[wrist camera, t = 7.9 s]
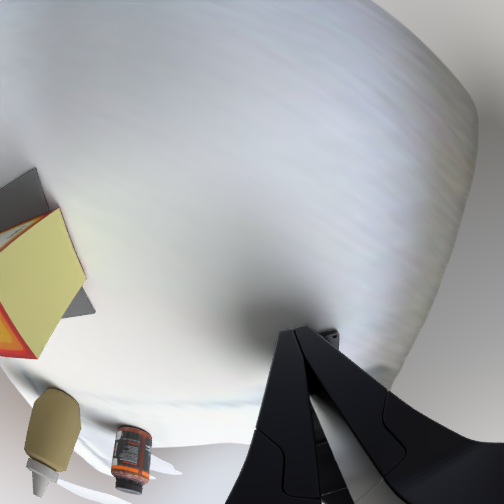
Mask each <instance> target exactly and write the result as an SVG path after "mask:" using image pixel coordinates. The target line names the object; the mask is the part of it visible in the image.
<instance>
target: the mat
mask: <svg viewBox="0 0 504 504" xmlns="http://www.w3.org/2000/svg"><path fill="white" fill-rule="evenodd" d="M46 212H49V209H48V206H47V203H46V200H45V197H44V194H43V191H42V188H41V184H40V181H39V177H38V174H37V170H36V168H34V169H32V170H31V171H29V172H27V173H26V174H24V175H22V176H21V177H19V178H17V179H16V180H14V181H13V182H11V183H10V184H8V185H6V186H5V187H3V188H2V189H0V231H3V230H5V229H7V228H9V227H12V226H14V225H16V224H19V223H21V222H24V221H26V220H28V219H31V218H33V217H36V216H39V215H41V214H44V213H46ZM94 313H95V310H94V308H93V306H92V304H91V303H90V301H89V299H88V297H87V295H86V293H85V292H84V290H83V288H82V286H81V288H80V289H79V291H78V292H77V294H76V295H75V297H74V298H73V300H72V302H71V303H70V305H69V306H68V308H67V309H66V311H65V313H64V314H63V316H62V317H61V318H68V317H75V316H81V315H88V314H94Z"/></svg>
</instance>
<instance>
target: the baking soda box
mask: <svg viewBox="0 0 504 504" xmlns="http://www.w3.org/2000/svg"><path fill="white" fill-rule="evenodd" d="M85 281H86V276H85V274H84V272H83V270H82V267H81V265H80V263H79V260H78V258H77V255H76V253H75V250H74V248H73V245H72V243H71V240H70V237H69V235H68V232H67V229H66V226H65V223H64V221H63V218H62V215H61V211H60V208H57V209H54V210H52V211H49V212H46V213H44V214H41V215H39V216H36V217H33V218H31V219H28V220H26V221H24V222H21V223H19V224H16V225H14V226H12V227H9V228H7V229H5V230H3V231H0V356H3V357H13V358H25V359H38V358H39V356H40V354H41V353H42V351H43V349H44V347H45V345H46V343H47V342H48V340H49V338H50V336H51V334H52V333H53V331H54V329H55V328H56V326H57V324H58V322H59V321H60V319H61V317H62V316H63V314H64V313H65V311H66V309H67V308H68V306H69V305H70V303H71V302H72V300H73V298H74V297H75V295H76V294H77V292H78V291H79V289H80V288H81V286H82V285H83V283H84V282H85Z"/></svg>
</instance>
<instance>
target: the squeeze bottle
mask: <svg viewBox="0 0 504 504" xmlns="http://www.w3.org/2000/svg"><path fill="white" fill-rule="evenodd" d="M80 430H81V421H80V408H79V404H78V403H77V402H76V401H75V400H74V399H73V398H72V397H70V396H69V395H67V394H66V393H64V392H62V391H60V390H57V389H54V388H48V389H47V390H46V391H45V392H44V393H43V394H42V395H41V396H40V397H39V398H38V399H37V400H36V401H35V403H34V406H33V409H32V414H31V418H30V422H29V427H28V431H27V437H26V442H25V447H24V450H25V452H26V453H27V455H29V457H30V458H31V459H30V458H29V459H28V461H27V465H26V467H27V468H28V469H29V470H31V471H32V474H33V475H32V477H33V493H34V494H35V495H36V496H38V497H40V498H42V496H43V494H44V492H45V490H46V488H47V486H48V484H49V482H50V481H52V482H55V483H57V480H58V473H57V472H62V471H66V469H67V466H68V463H69V460H70V457H71V454H72V451H73V449H74V446H75V443H76V441H77V438H78V436H79V433H80ZM56 471H57V472H56Z"/></svg>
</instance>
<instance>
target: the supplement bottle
mask: <svg viewBox="0 0 504 504" xmlns="http://www.w3.org/2000/svg"><path fill="white" fill-rule="evenodd" d="M151 446H152V437H151V436H150V435H149V434H148V433H147V432H145V431H143V430H141V429H138V428H134V427H120V428H118V430H117V434H116V440H115V446H114V452H113V459H112V466H111V473H112V475H113V476H114V477H116V489H118V490H120V491H123V492H126V493H131V494H137V495H141V494H142V486H143V485H144V484H146V483H148V481H149V471H150V459H151Z"/></svg>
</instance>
